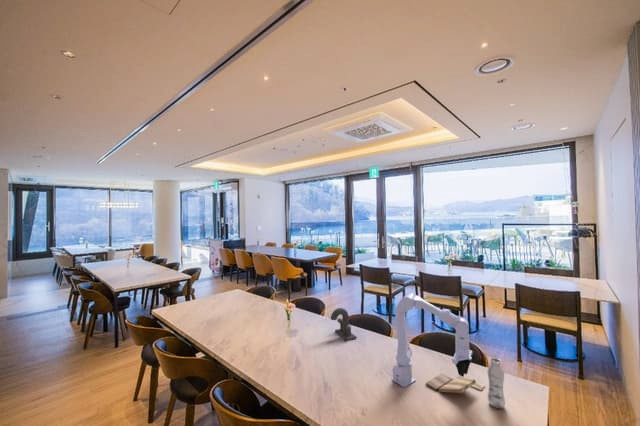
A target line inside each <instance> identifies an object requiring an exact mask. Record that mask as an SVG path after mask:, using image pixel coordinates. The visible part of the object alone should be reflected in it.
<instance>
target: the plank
mask: <svg viewBox="0 0 640 426" xmlns="http://www.w3.org/2000/svg"><path fill="white" fill-rule="evenodd" d="M454 380H471V379H470V378H467V377H464V376H463V377H462V376H460V375H458V376H457V377H456V378H455V379H454ZM485 387H486V386H485V384H482V383H480V382H477V381H476V383H475V384H473V385H472V386H470V387H469V388H473V389H475V390H477V391H480V392H482V391H483V390H484V389H485Z"/></svg>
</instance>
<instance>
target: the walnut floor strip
mask: <svg viewBox="0 0 640 426" xmlns="http://www.w3.org/2000/svg"><path fill="white" fill-rule="evenodd" d="M451 380H453V378H452V377H450V376H448V375H446V374H443V373H440V374H439V375H436V376H435V377H433V378H431V379H430V380H428V381H426V382H425V386H426V387H428V388H430V389H432V390H434V391H435V392H439V390H438V389H439V388H440V387H442V386H443V385H445V384H446V383H448V382H450V381H451Z"/></svg>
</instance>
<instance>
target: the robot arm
mask: <svg viewBox="0 0 640 426" xmlns="http://www.w3.org/2000/svg"><path fill="white" fill-rule="evenodd" d="M412 309H414V310H419V309H423V310H424V311H426V312H429V313H431V314H433V315H435V316H437V317H438V320H439V321H441V322H443V323H444V324H446V325H448V326H449V327H451V328H453V329H454V330H455V334H454V336H455V337H454V338H455V340H454V341H455V353H454V355H453V357H452V358H451V361H452V364H455V367H456V370H457V373H458V376H462V377H464V376H465V375H467V374H468V371H469V369H470V365H471V363H472V362H473V358H472V356H473V350H471V349H470V336H469V335H470V334H469V331H470V325H469V324H470V323H469V321H468V319H466V318H465V317H464V316H460V315H456V314H454V313H452V312H451V310H449V309H445V308H444V309H440V308H438V307H437V306H435V305H433V304H431V303H430V302H428V301H426V299H423V298H421V297H420V296H419V295H416V294H414V293H413V292H407V293H406V294H404V295H403V296H402V297H401V299H400V300H399V302H398V304H397V305H396V307H395V308H394V315H395V324H396V325H395V326H396V336H397V338H396V339H397V349H396V355H395V361H396V363H395V365H393V367H392V378H391V381H393V382H395V383H396V384H398V385H400V386H401V387H403V388H406V387H407V386H410V385H411V384H412V383H414V382H416V379H415V378H413V376H412V375H413V372H412V368H413V367H412V365H413V364H412V363H413V362H412V360H411V358H412V356H413V352H412V349H411V347H410V343H409V339H408V338H409V337H408V329H407V321H406V320H407V319H406V317H407V316H406V313H407V312H408V311H410V310H412Z"/></svg>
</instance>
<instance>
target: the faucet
mask: <svg viewBox="0 0 640 426" xmlns="http://www.w3.org/2000/svg"><path fill="white" fill-rule="evenodd" d="M340 315H341V316H342V318H340V317H339V316H340ZM349 318H350V317H349V313H348V311H347V310H346V309H345V308H343V307H337V308H336V309H335V310H333V311H332V313H331V315H330V320H331V321H336V320H337V322H338V323H339V324H340V325H339V327H340V328H339V329H334V332H335V333H336V334H337V335H338V334H339V337H341V338H342V337H343V338H344V339H343V338H342V339H343V340H345V342H349V341H348V340H350V341H353V340H352V339H354V340H357V339H358V337H357V336H356V335H355V334H354V333H352V326H351V325H350V322H349ZM356 338H357V339H356Z"/></svg>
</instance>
